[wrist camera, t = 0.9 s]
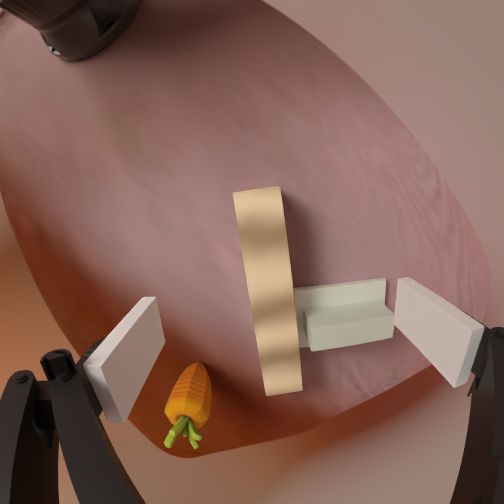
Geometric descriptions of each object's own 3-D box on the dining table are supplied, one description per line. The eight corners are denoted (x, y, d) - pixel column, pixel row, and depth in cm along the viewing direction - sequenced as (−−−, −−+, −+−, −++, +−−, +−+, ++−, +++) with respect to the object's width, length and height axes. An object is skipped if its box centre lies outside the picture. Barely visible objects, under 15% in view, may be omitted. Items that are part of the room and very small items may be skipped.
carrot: (218, 350, 36) (204, 433, 21) (217, 379, 37) (204, 461, 22) (181, 346, 36) (150, 424, 21) (182, 374, 37) (156, 453, 22)
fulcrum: (293, 288, 34) (301, 307, 28) (383, 277, 34) (404, 293, 28) (295, 344, 36) (302, 370, 30) (378, 331, 36) (396, 353, 30)
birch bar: (235, 192, 32) (232, 192, 27) (274, 186, 32) (279, 186, 26) (264, 370, 37) (266, 395, 32) (296, 366, 37) (302, 390, 32)
